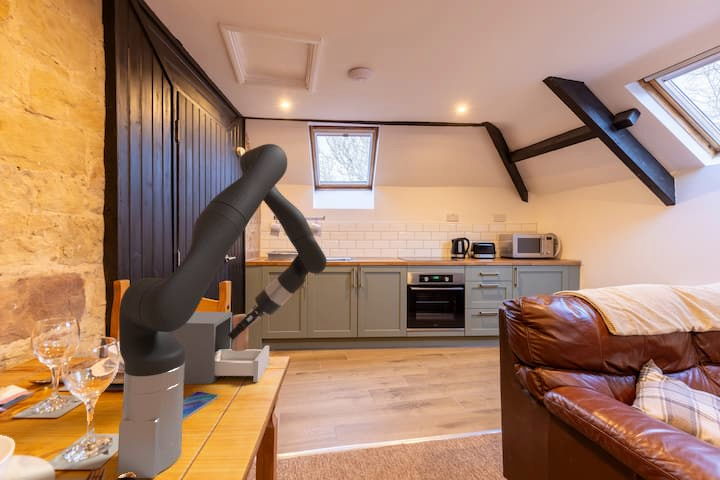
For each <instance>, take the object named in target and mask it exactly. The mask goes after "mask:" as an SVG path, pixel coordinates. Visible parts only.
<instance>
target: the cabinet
mask: <svg viewBox="0 0 720 480" xmlns="http://www.w3.org/2000/svg"><path fill="white" fill-rule="evenodd" d="M232 323H233V312H232V311H195V312H194V314H193V315H192V317H191V318H190V319H189V320H188V322H187V323H185V324H184V325H183V326H182V327H180V328H179V329H177V330H175V331H172V332H173V334H174V336H175V338H176V339H177V340H178V341H179V342H180V343H181V344H182V345H183V346H184V348H185V370H184V385H185V384H186V385H191V384H192V385H194V384H195V385H202V384H203V385H213V384H214V382H216V381H217V379H218V378H219V377H220V376H214V365H215V353H216V352H217V351H218V350H219V349H232V339H231V338H230V337H229V336H228V334H229V333H230V332H231V331H232Z"/></svg>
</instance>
